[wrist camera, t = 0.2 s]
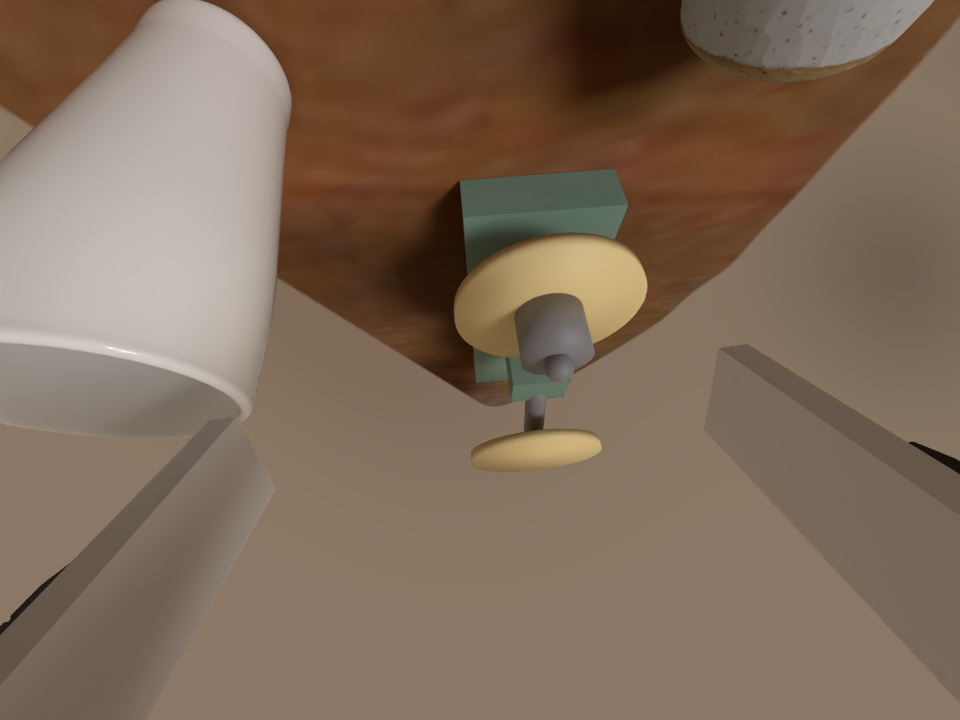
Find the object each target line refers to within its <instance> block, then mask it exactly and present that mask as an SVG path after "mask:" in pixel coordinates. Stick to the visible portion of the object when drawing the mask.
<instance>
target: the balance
mask: <svg viewBox="0 0 960 720" xmlns="http://www.w3.org/2000/svg"><path fill="white" fill-rule="evenodd" d="M460 190H461V203H462V216H463V228H464V241H465V254H466V266H467V276H466V277H465V279H464V280H463V281H462V283H461V285H460V286H459V288H458V290H457V293H456V295H455V300H454V319H455V325H456V329H457V331H458V332H459V334H460V336H461V337H462V338H463V339H464V340H465V341H466V342H467V343H468V344H470V345H471V346H473V355H474V367H475V378H476V383H484V382H495V381H507V380H508V382H509V390H510V397H511V402H512V401H523V400H525V421H524V432H521V433H516V434H511V435H507V436H503V437H499V438H495V439H493V440H490V441H487V442H485V443H482V444H480V445H478V446H477V447H475V448H474V449H473V450H472V451H471V463H472V466H474V467H476V468H478V469H481V470H487V471H496V472H517V471H531V470H539V469H546V468H553V467H558V466H563V465H568V464H572V463H576V462H579V461H582V460H585V459H588V458H590V457H592V456H594V455H596V454H597V453H599V452H600V451H601V449H602V447H601V443H600V439H599V436H598V435H597V434H595V433H593V432H590V431H585V430H578V429H546V430H543V426H544V416H545V407H546V398H557V397H563V396H564V394H565V392H566V390H567V388H568V386H569V383H570V381H571V380H570V377H571V376H572V375H573V372H574V370H575V369H578V368H580V367H582V366H584V365H585V364H587V363H588V362H589V361H590V360H591V359H592V358H593V356H594V353H595V351H594V347H593V343H596V342H598V341H600V340H602V339H604V338H606V337H607V336H609V335H611V334H612V333H614V332H615V331H617V330H618V329H620V328H621V327H622V326H624V325H625V324H626V323H627V322H628V321H629V320H630V319H631V318H632V317H633V316H634V315H635V314H636V313H637V311H638V310H639V308H640V307H641V305H642V303H643V301H644V299H645V296H646V293H647V280H646V276H645V273H644V270H643V268H642V265H641V263H640V261H639V259H638V257H637V256H636V255H635V253H634V252H633V251H632V250H631V249H629V248H628V247H627V246H626V245H624V244H622V243H620V242H618V241H616V240H614V239H615V237H616V234H617V232H618V229H619V227H620V224H621V222H622V219H623V217H624V214H625V212H626V209H627V207H628V202H627V200H626V197H625V195H624V192H623V189H622V187H621V184H620V182H619V179H618V176H617V174H616V171H615V169H603V170H590V171H577V172H564V173H551V174H538V175H525V176H512V177H499V178H486V179H473V180H460Z"/></svg>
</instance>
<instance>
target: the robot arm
mask: <svg viewBox="0 0 960 720" xmlns="http://www.w3.org/2000/svg"><path fill="white" fill-rule="evenodd" d="M704 430H705V431H706V432H707V433H708V434H709V436H710V437H712V439H713V440H714V441H715V442H716V443H717V444H718V445H719V446H720V447H721V448H722V449H723V451H724V452H725V453H726V454H727V455H728V456H729V457H730V458H731V459H732V460H733V461H734V462H735V463H736V464H737V465H738V467H739V468H740V469H741V470H742V471H743V472H744V473H745V474H746V475H747V476H748V477H749V478H750V479H751V480H752V482H753V483H754V484H755V485H756V486H757V487H758V488H759V489H760V490H761V491H762V492H763V493H764V494H765V495H766V496H767V497H768V499H769V500H770V501H771V502H772V503H773V504H774V505H775V506H776V507H777V508H778V509H779V510H780V511H781V513H782V514H783V515H784V516H785V517H786V518H787V519H788V520H789V521H790V522H791V523H792V524H793V525H794V526H795V527H796V529H797V530H798V531H800V533H801V534H802V535H803V536H804V537H805V538H806V539H807V540H808V541H809V542H810V543H811V544H812V546H813V547H814V548H815V549H816V550H817V551H818V552H819V553H820V554H821V555H822V556H823V557H824V558H825V559H826V561H827V562H828V563H829V564H830V565H831V566H832V567H833V568H834V569H835V570H836V571H837V572H838V573H839V574H840V576H841V577H842V578H843V579H844V580H845V581H846V582H847V583H848V584H849V585H850V586H851V587H852V588H853V589H854V591H855V592H856V593H857V594H858V595H859V596H860V597H861V598H862V599H863V600H864V601H865V602H866V603H867V604H868V605H869V607H871V609H872V610H873V611H874V612H875V613H876V614H877V615H878V616H879V617H880V618H881V619H882V620H883V621H884V623H885V624H886V625H887V626H888V627H889V628H890V629H891V630H892V631H893V632H894V633H895V634H896V635H897V636H898V638H899V639H900V640H901V641H902V642H903V643H904V644H905V645H906V646H907V647H908V648H909V649H910V650H911V651H912V652H913V654H914V655H915V656H916V657H917V658H918V659H919V660H920V661H921V662H922V663H923V664H924V665H925V666H926V667H927V669H928V670H929V671H930V672H931V673H932V674H933V675H934V676H935V677H936V678H937V679H938V680H939V681H940V682H941V683H942V685H943V686H944V687H945V688H946V689H947V690H948V691H949V692H950V693H951V694H952V695H953V696H954V697H955V698H956V699H957V701H958V702H959V703H960V461H958V460H957V459H955V458H952V457H950V456H947V455H945V454H942V453H940V452H938V451H935V450H933V449H930V448H928V447H925V446H923V445H920V444H918V443H915V442H906V441H905V440H903V439H901V438H900V437H898V436H896V435H895V434H893V433H892V432H890V431H888V430H887V429H885V428H883V427H882V426H880V425H879V424H877V423H875V422H873V421H872V420H870V419H869V418H867V417H865V416H864V415H862V414H861V413H859V412H857V411H856V410H854V409H852V408H851V407H849V406H848V405H846V404H844V403H843V402H841V401H839V400H838V399H836V398H834V397H833V396H831V395H830V394H828V393H826V392H825V391H823V390H822V389H820V388H818V387H816V386H815V385H813V384H811V383H810V382H809V381H807V380H805V379H804V378H802V377H800V376H798V375H797V374H795V373H794V372H792V371H790V370H789V369H787V368H786V367H784V366H782V365H781V364H779V363H778V362H776V361H774V360H773V359H771V358H769V357H768V356H766V355H764V354H763V353H761V352H760V351H758V350H756V349H755V348H753V347H751V346H750V345H748V344H745V345H737V346H731V347H723V348H719V350H718V356H717V361H716V366H715V372H714V377H713V383H712V388H711V394H710V399H709V405H708V410H707V416H706V421H705V427H704ZM274 491H275V487H274V485H273V483H272V481H271V479H270V478H269V476H268V474H267V472H266V470H265V468H264V466H263V464H262V463H261V461H260V459H259V457H258V455H257V453H256V452H255V450H254V448H253V446H252V444H251V442H250V440H249V438H248V436H247V435H246V433H245V431H244V429H243V427H242V425H241V423H240V421H239V419H238V418H237V416H236V417H229V418H222V419H215V420H209V421H208V422H207V423H206V424H205V425H204V426H203V427H202V428H201V429H200V430H199V431H198V432H197V433H196V434H195V435H194V436H193V437H192V439H191V440H190V441H189V442H188V443H187V444H186V445H185V446H184V447H183V448H182V449H181V450H180V451H179V452H178V453H177V454H176V455H175V456H174V457H173V458H172V459H171V460H170V461H169V462H168V463H167V464H166V465H165V466H164V467H163V468H162V469H161V470H160V471H159V473H158V474H157V475H156V476H155V477H154V478H153V479H152V480H151V481H150V482H149V483H148V484H147V485H146V486H145V487H144V488H143V489H142V490H141V491H140V492H139V493H138V494H137V495H136V496H135V497H134V498H133V499H132V500H131V501H130V502H129V503H128V504H127V505H126V506H125V507H124V508H123V509H122V511H121V512H120V513H119V514H118V515H117V516H116V517H115V518H114V519H113V520H112V521H111V522H110V523H109V524H108V525H107V526H106V527H105V528H104V529H103V530H102V531H101V532H100V533H99V534H98V535H97V536H96V537H95V538H94V539H93V540H92V541H91V542H90V543H89V545H87V547H86V548H85V549H84V550H83V551H82V552H81V553H80V554H79V555H78V556H77V557H76V558H75V559H74V560H73V561H72V562H71V563H70V564H68V565H67V566H66V567H64V568H63V569H62V570H60V571H59V572H58V573H56V574H55V575H54V576H52V577H51V578H50V579H48V580H47V581H46V582H45V583H43V584H42V585H41V586H40V587H39V588H38V589H37V590H36V591H35V592H34V593H33V594H32V595H31V596H30V597H29V598H28V599H27V600H26V601H25V602H24V603H23V604H22V605H21V606H20V607H19V608H18V609H17V610H16V611H15V612H14V613H13V614H12V615H11V619H10V621H8V622H4V623H3V624H2V625H1V626H0V720H147V718H148V716H149V714H150V712H151V710H152V709H153V707H154V705H155V703H156V702H157V700H158V698H159V696H160V695H161V693H162V691H163V689H164V688H165V685H166V684H167V682H168V680H169V679H170V677H171V675H172V673H173V671H174V670H175V668H176V666H177V664H178V663H179V661H180V659H181V657H182V655H183V654H184V652H185V650H186V648H187V646H188V645H189V643H190V641H191V639H192V637H193V636H194V634H195V632H196V630H197V629H198V627H199V625H200V623H201V621H202V619H203V618H204V616H205V614H206V613H207V611H208V609H209V607H210V605H211V604H212V602H213V600H214V598H215V597H216V595H217V593H218V591H219V589H220V588H221V586H222V584H223V582H224V580H225V579H226V577H227V575H228V573H229V572H230V570H231V568H232V566H233V564H234V563H235V561H236V559H237V557H238V555H239V554H240V552H241V550H242V548H243V546H244V545H245V543H246V541H247V539H248V538H249V536H250V534H251V532H252V530H253V529H254V527H255V525H256V523H257V522H258V520H259V518H260V516H261V514H262V512H263V511H264V509H265V507H266V505H267V504H268V502H269V500H270V498H271V497H272V495H273V493H274Z"/></svg>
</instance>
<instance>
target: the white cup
mask: <svg viewBox="0 0 960 720" xmlns="http://www.w3.org/2000/svg"><path fill="white" fill-rule="evenodd" d="M291 112H292V99H291V92H290V88H289V84H288V81H287V78H286V76H285V73H284V71H283V69H282V67H281V65H280V63H279V62H278V60H277V58H276V57H275V55H274V54H273V52H272V51H271V50H270V48H269V47H268V46H267V44H266V43H265V42H264V41H263V40H262V39H261V38H260V37H259V36H258V35H257V34H256V33H255V32H254V31H253V30H252V29H251V28H250V27H249V26H248V25H246V24H245V23H244V22H243V21H241V20H240V19H239V18H237V17H236V16H234V15H233V14H231V13H229V12H228V11H226V10H224V9H222V8H220V7H218V6H216V5H213V4H211V3H208V2H205V1H202V0H161V1H159V2H157V3H155V4H153V5H152V6H150V7H149V8H148V9H147V10H146V11H145V12H144V13H143V15H142V16H141V18H140V19H139V21H138V22H137V24H136V25H135V27H134V28H133V30H132V31H131V33H130V34H129V35H128V36H127V37H126V38H125V39H124V40H123V41H122V42H121V43H120V44H119V45H118V46H117V47H116V48H115V49H114V50H113V51H112V52H111V53H110V54H109V55H108V56H107V57H106V58H105V59H104V60H103V61H102V62H101V63H100V64H99V65H98V66H97V67H96V68H95V69H94V70H93V71H92V72H91V73H90V74H89V75H88V76H87V77H86V78H85V79H84V80H83V81H82V82H81V83H80V84H79V85H78V86H77V87H76V88H75V89H74V90H73V91H72V92H71V93H70V94H69V95H68V96H67V97H66V98H65V99H64V100H63V101H62V102H60V103H59V104H58V105H57V106H56V107H55V108H54V109H53V110H52V111H51V112H50V113H49V114H48V115H47V116H46V117H45V118H44V119H43V120H42V121H41V122H40V123H39V124H38V125H36V126H35V127H34V128H33V129H32V130H31V131H30V132H29V133H28V134H27V135H26V136H25V137H24V138H23V139H22V140H21V141H20V142H19V143H18V144H17V145H16V146H15V147H14V148H13V149H12V150H11V151H10V152H9V153H7V154H6V156H4V157H3V159H1V160H0V424H4V425H9V426H14V427H20V428H26V429H32V430H39V431H45V432H53V433H61V434H70V435H80V436H90V437H103V438H121V439H174V438H186V437H193V436H194V435H195V434H196V433H197V432H198V431H199V430H200V429H201V428H202V427H203V426H204V425H205V424H206V423H207V422H208V421H209V420H215V419H222V418H229V417H236V416H237V418H238V419H239V421H240V423H243V422H244V421H245V420H246V419H247V418H248V417H249V416H250V414H251V412H252V408H253V403H254V398H255V395H256V391H257V387H258V383H259V379H260V375H261V371H262V367H263V363H264V358H265V354H266V349H267V344H268V339H269V334H270V328H271V321H272V315H273V308H274V301H275V293H276V282H277V270H278V256H279V240H280V224H281V209H282V194H283V179H284V166H285V153H286V141H287V133H288V128H289V123H290V119H291Z"/></svg>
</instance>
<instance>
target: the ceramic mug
mask: <svg viewBox="0 0 960 720" xmlns="http://www.w3.org/2000/svg"><path fill="white" fill-rule="evenodd" d="M933 1H934V0H682V3H681V13H680V24H681V30H682V33H683V35H684V37H685V40H686V42H687V43H688V45H689V46H690V47H691V48H692V50H693V51H694V52H695V53H696V54H697V55H698V56H699V57H700V58H702V59H703V60H704V61H705V62H706V63H707V64H709V65H711V66H713V67H715V68H717V69H720V70H722V71H724V72H726V73H728V74H731V75H735V76H738V77H743V78H748V79H754V80H759V81H770V82H796V81H807V80H815V79H819V78H823V77H827V76H830V75H834V74H837V73H840V72H843V71H846V70H849V69H851V68H854V67H856V66H858V65H861V64H863V63H865V62H867V61H869V60H870V59H872V58H873V57H874V56H876V55H877V54H879V53H880V52H881V51H883V50H884V49H886V48H887V47H889V46H890V45H891V44H892V43H893V42H894V41H895V40H896V39H897V38H898V37H899V36H900V35H902V34H903V33H904V32H905V31H906V30H907V29H908V28H909V27H910V26H911V24H912V23H913V22H914V21H915V20H916V19H917V18H918V17H919V16H920V15H921V14H922V13H923V12H924V11H925V10H926V9H927V8H928V7H929V6H930V5H931V3H932V2H933Z"/></svg>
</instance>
